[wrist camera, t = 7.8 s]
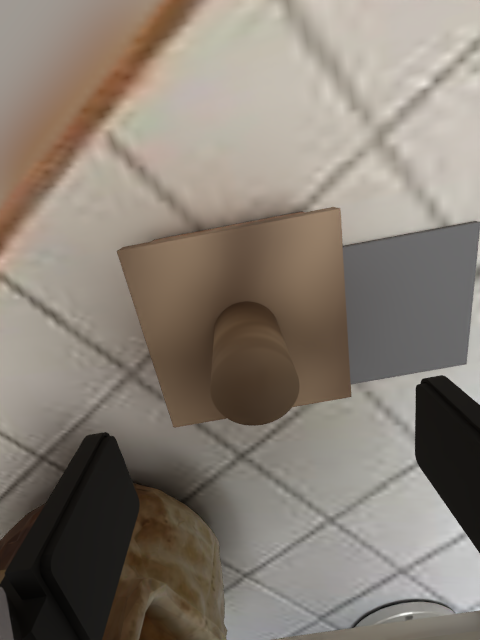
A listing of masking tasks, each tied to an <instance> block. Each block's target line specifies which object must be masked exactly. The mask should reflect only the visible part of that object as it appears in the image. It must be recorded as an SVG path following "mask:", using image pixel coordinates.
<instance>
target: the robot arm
mask: <svg viewBox="0 0 480 640" xmlns="http://www.w3.org/2000/svg"><path fill="white" fill-rule="evenodd" d="M415 456H416V460H417V463H418V465H419V467H420V468H421V470H422V471H423V472H424V474H425V475H426V477H427V478H428V480H429V481H430V482H431V484H432V485H433V487H434V488H435V490H436V491H437V492H438V494H439V495H440V497H441V498H442V500H443V501H444V503H445V504H446V505H447V507H448V508H449V510H450V511H451V513H452V514H453V515H454V517H455V518H456V520H457V521H458V523H459V524H460V525H461V527H462V528H463V530H464V531H465V533H466V534H467V536H468V537H469V538H470V540H471V541H472V543H473V544H474V546H475V547H476V548H477V550H478V551H479V553H480V405H479V404H478V403H477V402H475V401H474V400H473V399H472V398H471V397H469V396H468V395H467V394H466V393H465V392H463V391H462V390H461V389H460V388H459V387H458V386H456V385H455V384H454V383H453V382H452V381H450V380H449V379H448V378H447V377H445V376H436V377H430V378H424V379H422V381H421V384H418V385H417V386H416V420H415ZM139 507H140V503H139V498H138V495H137V492H136V490H135V487H134V485H133V482H132V480H131V477H130V475H129V472H128V469H127V467H126V464H125V462H124V459H123V457H122V454H121V452H120V449H119V446H118V444H117V441H116V439H115V437H114V436H110V435H109V434H108V433H106V432H104V433H98V434H92V435H88V436H86V437H85V438H84V440H83V442H82V443H81V445H80V447H79V448H78V450H77V452H76V453H75V455H74V457H73V459H72V460H71V462H70V464H69V465H68V467H67V469H66V470H65V472H64V474H63V475H62V477H61V479H60V480H59V482H58V484H57V485H56V487H55V489H54V490H53V492H52V494H51V495H50V497H49V499H48V500H47V502H46V504H45V506H44V507H43V509H42V511H41V512H40V514H39V516H38V517H37V519H36V521H35V522H34V524H33V526H32V527H31V529H30V531H29V532H28V534H27V536H26V537H25V539H24V541H23V542H22V544H21V546H20V547H19V549H18V551H17V553H16V554H15V556H14V558H13V559H12V561H11V563H10V564H9V566H8V568H7V569H6V571H5V576H4V578H3V580H2V581H1V583H0V640H102V638H103V635H104V632H105V628H106V625H107V621H108V618H109V614H110V611H111V607H112V604H113V600H114V597H115V593H116V590H117V586H118V583H119V579H120V576H121V572H122V569H123V565H124V562H125V558H126V555H127V551H128V548H129V544H130V541H131V537H132V534H133V530H134V527H135V523H136V520H137V517H138V513H139ZM272 640H480V611H473V612H466V613H459V614H455V613H454V612H453V611H452V610H451V609H449V608H447V607H445V606H442V605H439V604H436V603H430V602H407V603H400V604H396V605H392V606H389V607H386V608H383V609H380V610H378V611H376V612H374V613H372V614H370V615H369V616H367V617H366V618H364V619H363V620H361V621H360V622H359V623H358V624H357V625H356V626H355V628H349V629H342V630H335V631H328V632H321V633H314V634H307V635H300V636H293V637H286V638H279V639H272Z"/></svg>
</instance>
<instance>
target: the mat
mask: <svg viewBox="0 0 480 640" xmlns="http://www.w3.org/2000/svg"><path fill="white" fill-rule="evenodd" d="M479 231H480V222H477V221H475V222H469V223H464V224H459V225H453V226H448V227H443V228H437V229H432V230H426V231H421V232H416V233H410V234H405V235H400V236H394V237H389V238H384V239H378V240H373V241H368V242H362V243H357V244H351V245H346V246H343V263H344V280H345V297H346V314H347V331H348V348H349V365H350V382H351V384H355V383H361V382H367V381H373V380H378V379H384V378H390V377H396V376H401V375H407V374H413V373H418V372H424V371H430V370H436V369H441V368H447V367H453V366H459V365H464V364H466V363H467V352H468V342H469V332H470V322H471V312H472V302H473V292H474V282H475V271H476V261H477V251H478V241H479Z"/></svg>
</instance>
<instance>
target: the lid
mask: <svg viewBox="0 0 480 640" xmlns="http://www.w3.org/2000/svg"><path fill="white" fill-rule="evenodd" d="M117 253H118V256H119V260H120V263H121V266H122V269H123V272H124V275H125V278H126V281H127V284H128V287H129V291H130V294H131V297H132V300H133V303H134V306H135V309H136V312H137V315H138V318H139V322H140V325H141V328H142V331H143V334H144V337H145V340H146V343H147V346H148V349H149V352H150V356H151V359H152V362H153V365H154V368H155V371H156V374H157V377H158V380H159V383H160V387H161V390H162V393H163V396H164V399H165V402H166V405H167V408H168V411H169V414H170V418H171V421H172V424H173V427H180V426H186V425H192V424H197V423H203V422H209V421H215V420H220V419H226V418H228V419H229V420H231V421H233V422H236V423H239V424H243V425H263V424H267V423H270V422H273V421H275V420H277V419H279V418H281V417H282V416H284V415H285V414H286V413H287V412H288V411H289V410H290V409H291V408H292V407H295V406H301V405H307V404H313V403H318V402H324V401H330V400H336V399H342V398H347V397H351V382H350V365H349V348H348V331H347V314H346V297H345V280H344V263H343V246H342V229H341V212H340V208H335V207H331V208H326V209H321V210H316V211H310V212H305V213H300V214H295V215H289V216H284V217H279V218H274V219H268V220H263V221H258V222H253V223H247V224H242V225H237V226H232V227H226V228H221V229H216V230H211V231H205V232H200V233H195V234H190V235H184V236H179V237H174V238H169V239H163V240H158V241H153V242H148V243H142V244H137V245H132V246H127V247H123V248H121V249H119V250H118V251H117Z"/></svg>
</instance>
